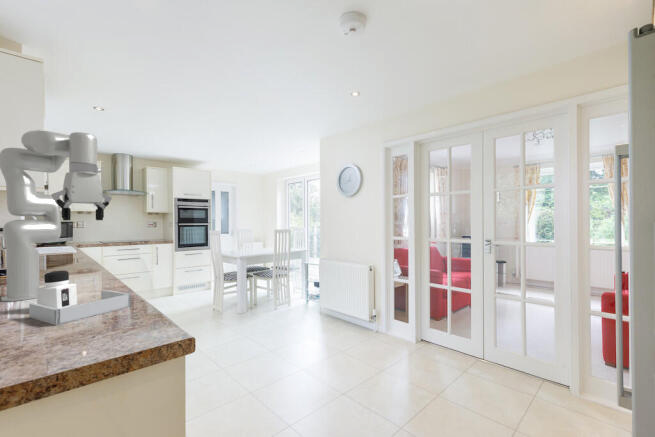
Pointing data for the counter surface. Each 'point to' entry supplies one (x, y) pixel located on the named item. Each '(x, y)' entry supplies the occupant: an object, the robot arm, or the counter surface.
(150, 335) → the counter surface
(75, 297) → the container
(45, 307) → the tray
